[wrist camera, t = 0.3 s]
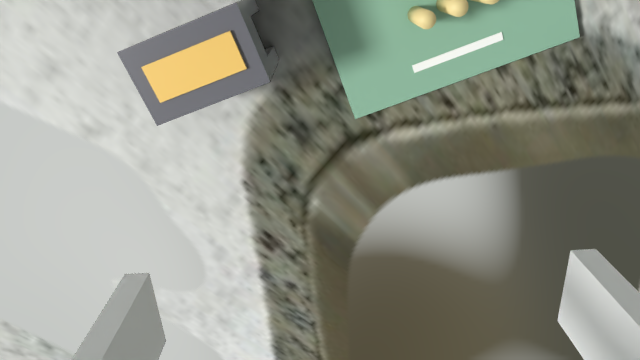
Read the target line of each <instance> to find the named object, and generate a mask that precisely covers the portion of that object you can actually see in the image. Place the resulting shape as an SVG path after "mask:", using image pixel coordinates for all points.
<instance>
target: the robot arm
mask: <svg viewBox="0 0 640 360" xmlns="http://www.w3.org/2000/svg"><path fill="white" fill-rule="evenodd" d="M558 322H559V324H560V325H561V327H562V328H563V329H564V331H565V332H566V334H567V335H568V337H569V338H570V340H571V341H572V342H573V344H574V345H575V347H576V348H577V350H578V351H579V353H580V354H581V356H582V357H583V358H584V360H640V293H639V292H638V291H637V290H636V289H635V288H634V287H633V286H632V285H631V284H630V283H629V282H628V281H627V280H626V279H625V278H624V277H623V276H622V275H621V274H620V273H619V272H618V271H617V270H616V269H615V268H614V267H613V266H612V265H611V264H610V263H609V262H608V261H607V260H606V259H605V258H604V257H603V256H602V255H601V254H600V253H599V252H598V251H597V250H596V249H589V250H588V249H587V250H571V252H570V257H569V262H568V267H567V273H566V278H565V283H564V289H563V295H562V300H561V305H560V310H559V316H558ZM165 342H166V339H165V335H164V331H163V326H162V322H161V318H160V314H159V310H158V306H157V302H156V298H155V294H154V290H153V286H152V283H151V278H150V274H149V273H138V274H125V275H124V277H123V278H122V280H121V281H120V283H119V285H118V286H117V288H116V289H115V291H114V293H113V294H112V296H111V298H110V299H109V301H108V302H107V304H106V305H105V307H104V309H103V310H102V312H101V313H100V315H99V317H98V318H97V320H96V321H95V323H94V325H93V326H92V328H91V329H90V331H89V333H88V334H87V336H86V337H85V339H84V341H83V342H82V344H81V345H80V347H79V349H78V350H77V352H76V353H75V355H74V357H73V358H72V360H158V359H159V357H160V354H161V352H162V349H163V347H164V345H165Z"/></svg>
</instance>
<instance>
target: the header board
mask: <svg viewBox="0 0 640 360" xmlns="http://www.w3.org/2000/svg"><path fill="white" fill-rule="evenodd" d="M312 1H313V4H314V6H315V9H316V12H317V15H318V17H319V20H320V23H321V26H322V29H323V31H324V34H325V37H326V40H327V42H328V45H329V48H330V51H331V53H332V56H333V59H334V62H335V64H336V67H337V70H338V73H339V75H340V78H341V81H342V84H343V86H344V89H345V92H346V95H347V97H348V100H349V103H350V106H351V108H352V111H353V114H354V117H355V119H357V118H360V117H362V116H365V115H368V114H371V113H373V112H376V111H379V110H382V109H384V108H387V107H390V106H393V105H395V104H398V103H401V102H403V101H406V100H409V99H412V98H414V97H417V96H420V95H423V94H425V93H428V92H431V91H434V90H436V89H439V88H442V87H445V86H447V85H450V84H453V83H455V82H458V81H461V80H464V79H466V78H469V77H472V76H475V75H477V74H480V73H483V72H486V71H488V70H491V69H494V68H496V67H499V66H502V65H505V64H507V63H510V62H513V61H516V60H518V59H521V58H524V57H527V56H529V55H532V54H535V53H538V52H540V51H543V50H546V49H548V48H551V47H554V46H557V45H559V44H562V43H565V42H568V41H570V40H573V39H576V38H579V37H580V35H579V28H578V21H577V15H576V8H575V1H574V0H312Z"/></svg>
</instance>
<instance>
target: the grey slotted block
mask: <svg viewBox="0 0 640 360" xmlns="http://www.w3.org/2000/svg"><path fill="white" fill-rule="evenodd" d="M258 10H259V9H258V6H257V4H256V2H255V0H241V1H238V2H236V3H233V4H231V5H229V6H226V7H224V8H222V9H219V10H217V11H214V12H212V13H210V14H207V15H205V16H202V17H200V18H198V19H195V20H193V21H190V22H188V23H186V24H183V25H181V26H178V27H176V28H174V29H171V30H169V31H166V32H164V33H162V34H159V35H157V36H154V37H152V38H150V39H147V40H145V41H143V42H140V43H138V44H136V45H133V46H131V47H129V48H126V49H124V50H122V51H119V52H117V53H118V55H119V57H120V59H121V60H122V62H123V64H124V66H125V68H126V70H127V71H128V73H129V75H130V77H131V79H132V81H133V82H134V84H135V86H136V88H137V90H138V92H139V93H140V95H141V97H142V99H143V101H144V103H145V104H146V106H147V108H148V110H149V112H150V114H151V115H152V117H153V119H154V121H155V123H156V125H157V126H158V125H161V124H163V123H166V122H168V121H171V120H173V119H176V118H179V117H181V116H184V115H186V114H189V113H192V112H194V111H197V110H199V109H202V108H204V107H207V106H210V105H212V104H215V103H217V102H220V101H222V100H225V99H228V98H230V97H233V96H235V95H238V94H241V93H243V92H246V91H248V90H251V89H253V88H256V87H259V86H261V85H264V84H266V83H269V82H270V81H271V79H272V76H273V74H274V71H275V69H276V66H277V64H278V61H279V58H278V55H277V53H276V50H275V48H274V46H272V47H270V48H267V49H265V50H264V47H263V45H262V42H261V40H260V38H259V35H258V33H257V30H256V28H255V26H254V23H253V21H252V18H251V16H252V15H253V14H254V13H256V12H257V11H258Z"/></svg>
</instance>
